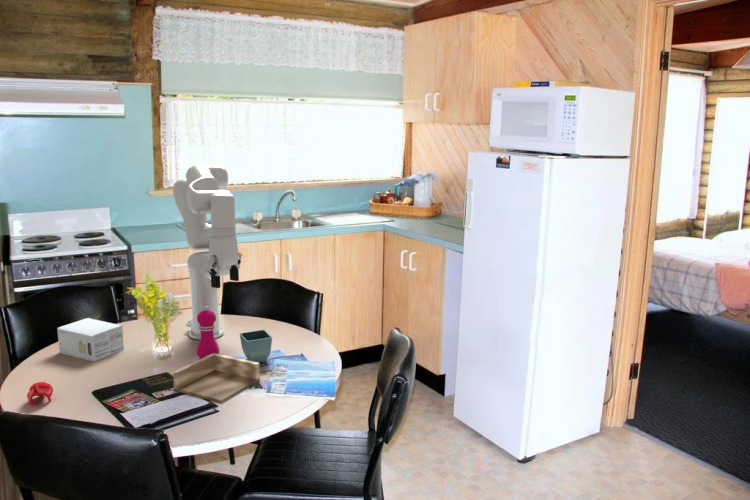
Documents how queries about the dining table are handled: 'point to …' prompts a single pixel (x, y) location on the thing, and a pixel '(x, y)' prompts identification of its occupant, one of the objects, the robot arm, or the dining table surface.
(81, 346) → the supplement box
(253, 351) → the flower pot
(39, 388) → the red curved piece
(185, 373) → the corner fence
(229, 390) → the board
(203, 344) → the pepper mill
